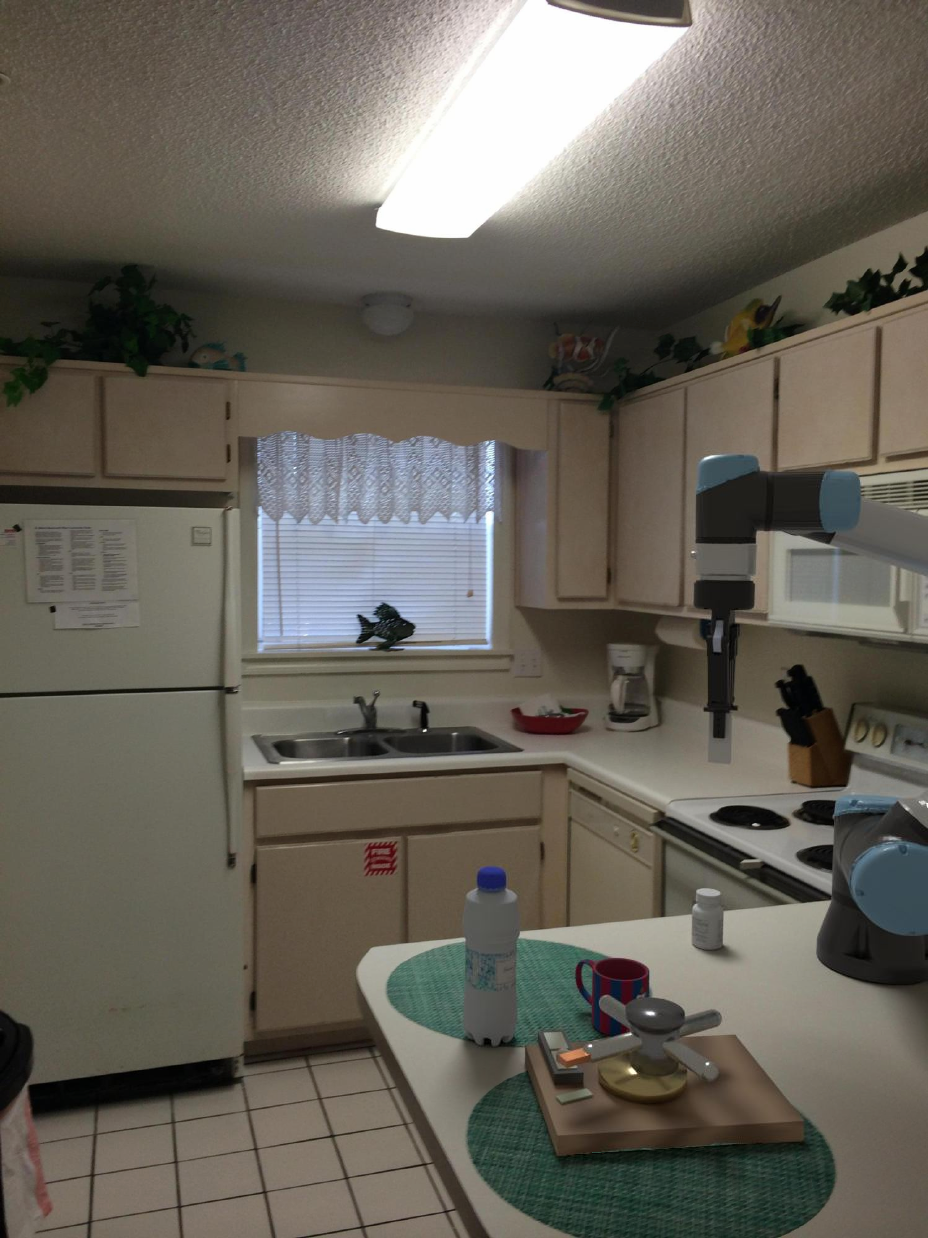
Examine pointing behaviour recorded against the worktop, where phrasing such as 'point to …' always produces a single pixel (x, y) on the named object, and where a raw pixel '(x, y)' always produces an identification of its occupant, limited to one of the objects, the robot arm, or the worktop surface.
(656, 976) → the worktop surface
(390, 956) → the worktop surface
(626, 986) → the mug
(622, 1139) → the stand
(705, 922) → the pill bottle
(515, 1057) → the worktop surface
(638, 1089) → the capstan
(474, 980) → the bottle
